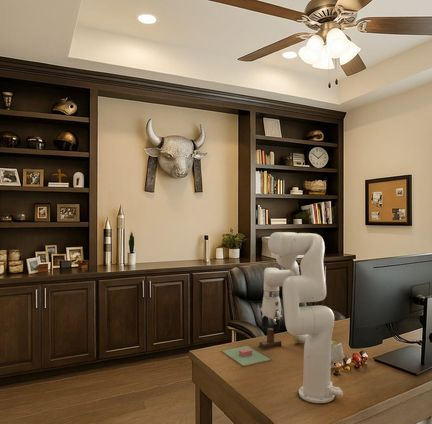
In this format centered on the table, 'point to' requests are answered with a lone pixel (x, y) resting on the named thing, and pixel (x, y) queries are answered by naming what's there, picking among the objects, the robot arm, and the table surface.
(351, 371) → the table surface
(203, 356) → the table surface
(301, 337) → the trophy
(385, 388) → the table surface
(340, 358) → the arrowhead
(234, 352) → the desk pad
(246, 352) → the eraser
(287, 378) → the table surface
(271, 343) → the brown t-shaped block
